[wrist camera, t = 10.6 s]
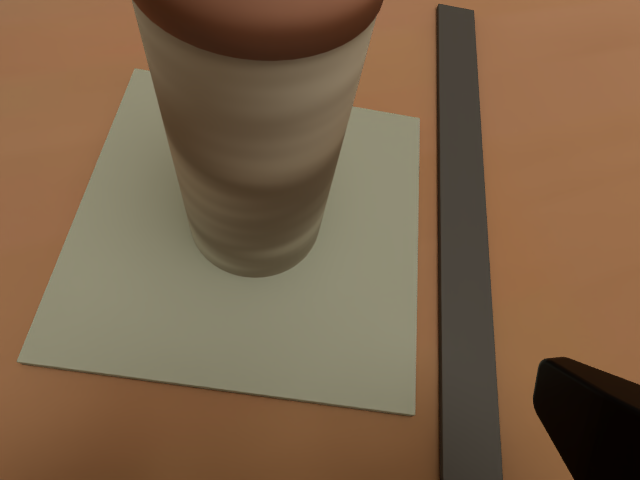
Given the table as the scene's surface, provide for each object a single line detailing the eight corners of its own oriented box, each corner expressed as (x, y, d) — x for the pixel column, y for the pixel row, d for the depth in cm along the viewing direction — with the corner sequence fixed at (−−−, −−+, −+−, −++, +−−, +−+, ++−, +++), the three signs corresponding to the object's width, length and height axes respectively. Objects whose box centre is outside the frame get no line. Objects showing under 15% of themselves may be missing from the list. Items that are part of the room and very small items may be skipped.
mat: (417, 124, 22) (419, 118, 22) (411, 416, 16) (415, 414, 16) (136, 75, 21) (134, 68, 21) (22, 364, 15) (16, 361, 15)
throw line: (515, 770, 12) (521, 777, 12) (441, 764, 12) (446, 770, 12) (471, 15, 26) (473, 10, 26) (436, 8, 26) (438, 3, 26)
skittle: (338, 190, 19) (463, -228, 8) (292, 299, 17) (374, -71, 5) (224, 147, 20) (183, -322, 8) (163, 248, 17) (-17, -208, 6)
